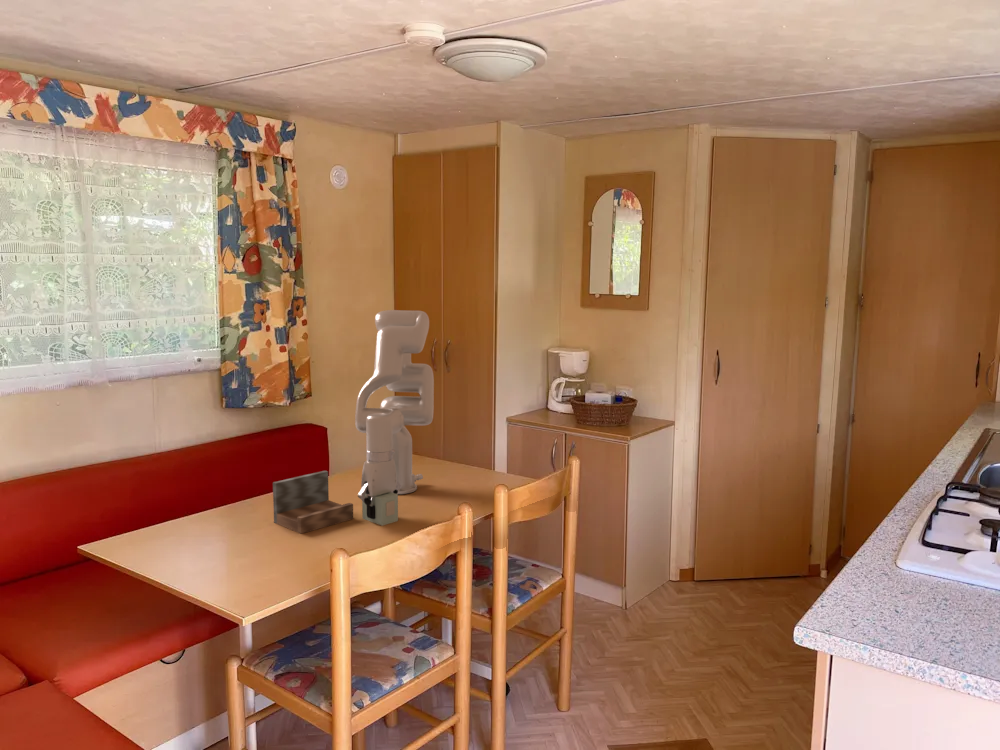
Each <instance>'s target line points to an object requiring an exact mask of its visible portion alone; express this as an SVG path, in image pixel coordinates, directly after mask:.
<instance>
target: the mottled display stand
mask: <svg viewBox="0 0 1000 750" xmlns="http://www.w3.org/2000/svg"><path fill="white" fill-rule="evenodd" d="M272 496H273V501H272V502H273V503H272V504H273V524H274V523H275V524H276V525H279V526H281V527H284V528H286V529H289V530H291V531H293V532H296V533H298V534H300V535H303V534H305V533H309V532H311V531H316V530H320V529H323V528H326V527H329V526H333V525H336V524H339V523H340V524H341V523H343V522H346V521H350V520H353V519H354V504H353V503H351V502H348V503H344V504H341V503H338V502H335V501H332V500H329V497H330V496H329V471H327V470H322V471H316V472H313V473H308V474H303V475H299V476H294V477H291V478H286V479H283V480H278V481H273V482H272Z"/></svg>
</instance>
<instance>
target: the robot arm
mask: <svg viewBox="0 0 1000 750" xmlns="http://www.w3.org/2000/svg"><path fill="white" fill-rule="evenodd" d="M374 325H375V328H376V331H377V334H376V339H375V340H376V341H375V354H374V363H373V364H374V367H373V374H372V376H370V377H369V379H368V380H367V381H366V382H365V383H364V384H363V386H362V387H361V389H360V391H359V393H358V395H357V396H356V397H357V399H356V404H355V415H354V423H355V428H356V430H357V431H358V432H359V433H362V434H365V436H366V437H365V438H366V440H365V441H366V460H365V461H364V462H363V465H362V470H361V486H360V487H361V488H360V490H359V492H358V494H357V497H358V499H360V500H361V502H362V501H363V502H364V503H365V504H366V505H367V517H368V518H371V519H375V506H374V502H375V496H378V495H382V494H386V493H390V492H392V493H395V494H398V495H405V494H406V495H407V494H411V493H414V492H415V491H417V489H418V485H417V484H416V482H417V481H420V480H422V479H424V475H423V474H422V473H417V474H415V473H413V438H412V435H411V433H410V431H409V430H408V429H407V427H406V426H428V425H430V424H431V423H432V422H433V419H434V411H435V407H434V404H435V403H434V402H435V401H434V400H435V399H434V398H435V397H434V395H435V394H434V393H435V389H434V388H435V380H434V379H435V378H434V377H435V376H434V371H433V368H432V366H430V365H429V364H427V363H415V362H414V363H413V362H412V354H419V353H421V352H422V351H423V349H424V347H425V344H426V340H427V337H428V334H429V329H430V318H429V315H428V314H427V312H425V311H422V310H404V309H403V310H402V309H401V310H399V309H398V310H397V309H387V310H381V311H379V312H377V313H376V314H375V316H374ZM383 387H386V388H387V390H388V391H390V392H393V393H395V392H396V393H417V394H419V396H410V395H407V396H406V395H392V396H391V395H390V396H387V397H385V398H384V399H382V400H381V402H380V406H379V407H367V405H368V401H369V398H370V397H371V396H372V394H374V393H375V392H376V391H378V390H379V389H381V388H383ZM365 494H367V496H365ZM370 497H371V500H370Z"/></svg>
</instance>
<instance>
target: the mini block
mask: <svg viewBox="0 0 1000 750" xmlns="http://www.w3.org/2000/svg"><path fill="white" fill-rule="evenodd" d="M365 496H367V494H365ZM370 500H371V497H370ZM361 503H362V505H361V506H362V510H361V511H362V513H361V514H362V520H366V521H369V522H371V523H373V524H377V525H379V526H381V527H382V526H386V525H388V524H389V525H390V524H392V523H395V522H398V521H399V494H395V493H392V492H390V493H386V494H382V495H378V496H375V502H374V506H375V519H371V518H368V517H367V505H366V504H365V503H364V502H363V501H362V500H361Z"/></svg>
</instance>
